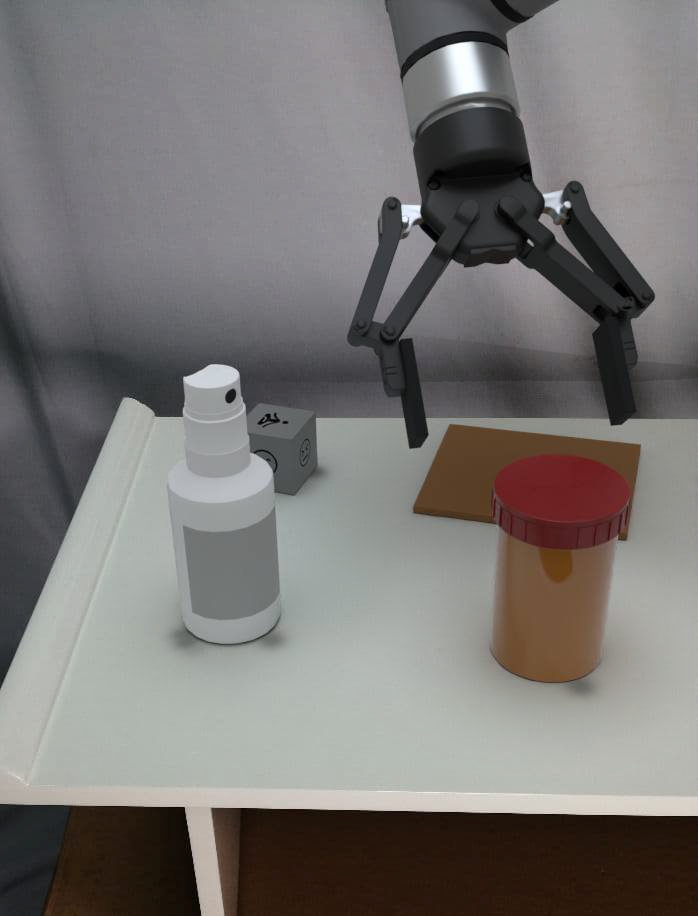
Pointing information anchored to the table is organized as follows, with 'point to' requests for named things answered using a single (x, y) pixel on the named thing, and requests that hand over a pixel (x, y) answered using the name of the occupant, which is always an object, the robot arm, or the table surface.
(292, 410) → the gray cube
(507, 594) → the jar
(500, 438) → the mat
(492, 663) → the table surface
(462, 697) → the table surface
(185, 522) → the spray bottle
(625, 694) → the table surface
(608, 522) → the lid
